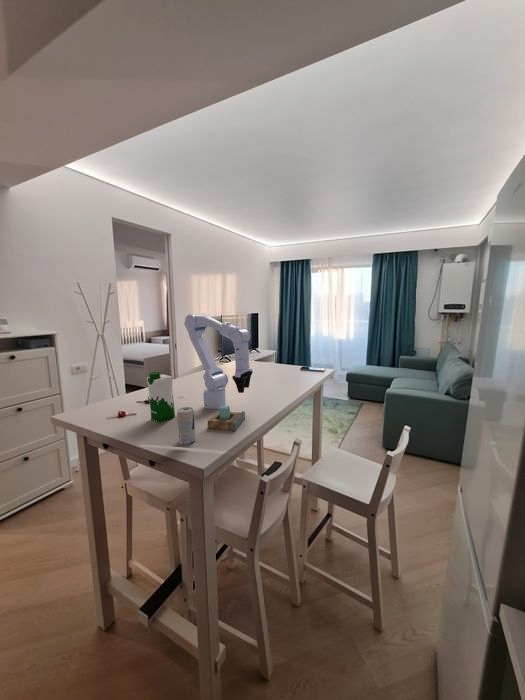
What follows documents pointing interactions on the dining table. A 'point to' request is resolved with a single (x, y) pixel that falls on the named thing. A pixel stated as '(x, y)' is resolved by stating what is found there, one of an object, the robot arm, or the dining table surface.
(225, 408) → the dowel
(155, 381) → the milk carton
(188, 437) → the energy drink
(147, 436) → the dining table surface
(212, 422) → the socket block
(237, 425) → the board
